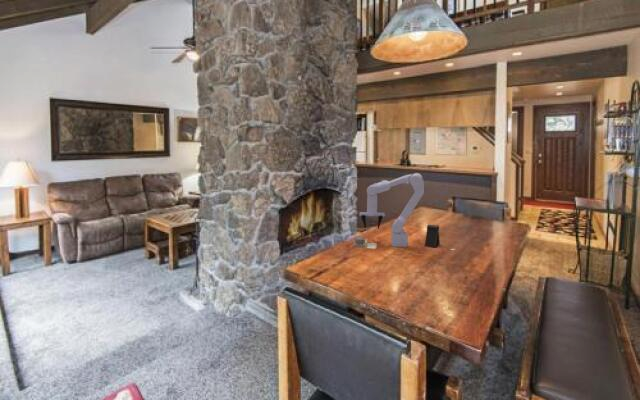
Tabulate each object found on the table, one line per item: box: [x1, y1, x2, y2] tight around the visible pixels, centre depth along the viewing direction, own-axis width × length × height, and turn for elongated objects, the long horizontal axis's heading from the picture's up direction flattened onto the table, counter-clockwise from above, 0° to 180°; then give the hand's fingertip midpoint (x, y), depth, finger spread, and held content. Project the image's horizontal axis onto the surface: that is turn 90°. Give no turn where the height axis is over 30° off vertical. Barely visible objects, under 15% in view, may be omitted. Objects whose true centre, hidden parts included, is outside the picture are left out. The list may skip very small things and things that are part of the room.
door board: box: [352, 237, 378, 250], centre depth 210 cm, size 13×10×4 cm
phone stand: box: [424, 224, 441, 249], centre depth 211 cm, size 9×6×12 cm, turn 144°
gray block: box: [355, 236, 364, 245], centre depth 211 cm, size 4×4×4 cm
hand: (371, 228), depth 213 cm, fingers open, 7 cm apart
